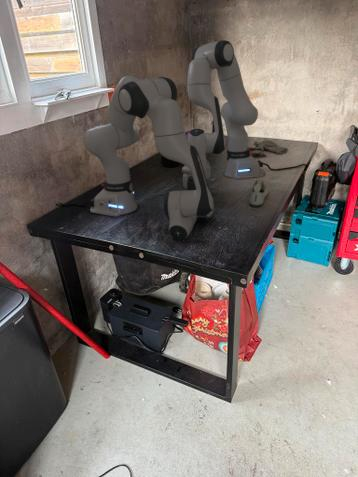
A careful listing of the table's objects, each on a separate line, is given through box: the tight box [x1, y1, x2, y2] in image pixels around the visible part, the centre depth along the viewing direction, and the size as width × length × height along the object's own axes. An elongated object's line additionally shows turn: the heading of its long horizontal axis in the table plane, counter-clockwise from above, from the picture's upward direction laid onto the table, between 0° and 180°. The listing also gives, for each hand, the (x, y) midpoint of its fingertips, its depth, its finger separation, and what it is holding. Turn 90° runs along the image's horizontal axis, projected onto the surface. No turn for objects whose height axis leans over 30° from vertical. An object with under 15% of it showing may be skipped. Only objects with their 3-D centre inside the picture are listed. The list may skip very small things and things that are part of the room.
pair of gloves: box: [247, 139, 289, 158], centre depth 226 cm, size 30×26×5 cm
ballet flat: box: [249, 179, 269, 207], centre depth 158 cm, size 8×24×8 cm, turn 163°
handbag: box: [160, 154, 180, 168], centre depth 210 cm, size 21×9×25 cm, turn 148°
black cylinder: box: [186, 176, 196, 190], centre depth 145 cm, size 5×5×17 cm
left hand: (193, 201), depth 148 cm, fingers closed on black cylinder, 5 cm apart
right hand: (197, 191), depth 165 cm, fingers closed on lid, 5 cm apart
